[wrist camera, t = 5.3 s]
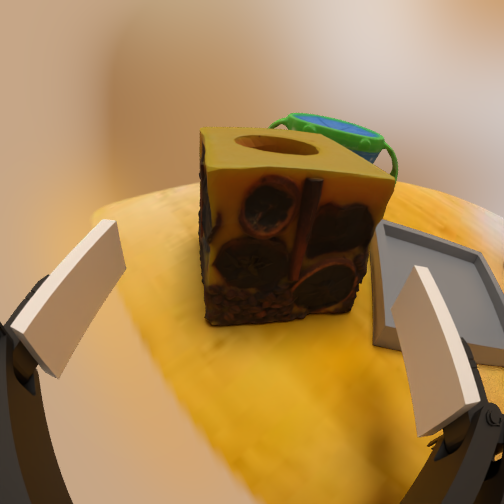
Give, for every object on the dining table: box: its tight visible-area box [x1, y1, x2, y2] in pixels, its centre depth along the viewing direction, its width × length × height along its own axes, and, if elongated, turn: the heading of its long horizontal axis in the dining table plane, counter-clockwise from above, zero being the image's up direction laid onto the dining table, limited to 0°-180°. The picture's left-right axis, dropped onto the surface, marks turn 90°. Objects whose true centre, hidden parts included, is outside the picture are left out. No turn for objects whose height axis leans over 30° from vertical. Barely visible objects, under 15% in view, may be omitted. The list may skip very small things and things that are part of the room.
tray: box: [370, 219, 504, 367], centre depth 20 cm, size 15×15×2 cm
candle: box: [198, 127, 395, 325], centre depth 18 cm, size 10×10×10 cm
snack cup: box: [268, 113, 398, 184], centre depth 29 cm, size 16×10×10 cm
